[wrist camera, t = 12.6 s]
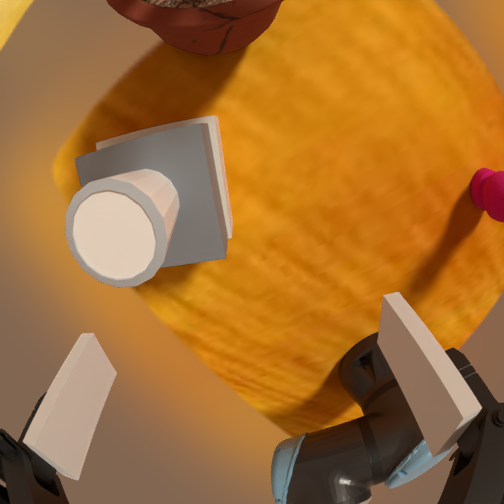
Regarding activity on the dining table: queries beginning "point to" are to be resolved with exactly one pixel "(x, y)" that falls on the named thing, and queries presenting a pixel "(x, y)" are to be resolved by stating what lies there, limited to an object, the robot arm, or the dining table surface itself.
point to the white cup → (122, 226)
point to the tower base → (216, 147)
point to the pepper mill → (489, 192)
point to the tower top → (183, 179)
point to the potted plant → (202, 21)
